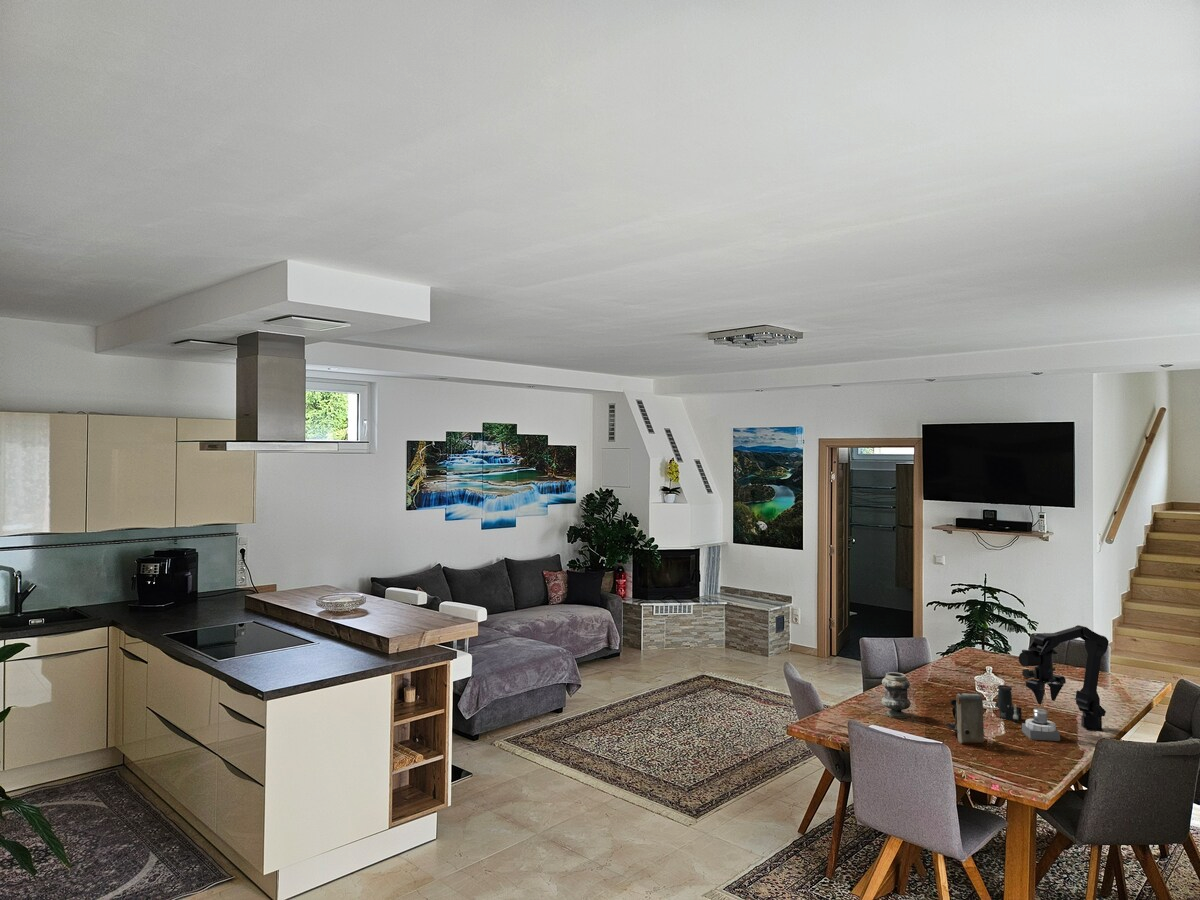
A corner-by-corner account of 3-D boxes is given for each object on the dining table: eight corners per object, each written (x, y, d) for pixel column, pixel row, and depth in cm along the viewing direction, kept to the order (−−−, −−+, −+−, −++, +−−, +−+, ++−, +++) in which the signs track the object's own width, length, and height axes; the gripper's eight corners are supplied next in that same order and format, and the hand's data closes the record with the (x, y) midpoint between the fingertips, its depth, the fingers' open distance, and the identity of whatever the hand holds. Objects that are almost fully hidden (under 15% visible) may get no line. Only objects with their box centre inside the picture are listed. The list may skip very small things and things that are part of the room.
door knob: (1035, 724, 326) (1034, 707, 326) (1048, 727, 323) (1048, 710, 323) (1032, 727, 323) (1032, 710, 323) (1046, 730, 319) (1045, 712, 319)
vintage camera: (966, 733, 328) (963, 684, 329) (985, 744, 312) (983, 693, 314) (943, 733, 327) (941, 685, 329) (961, 745, 312) (959, 694, 313)
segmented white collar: (1050, 732, 327) (1050, 719, 327) (1060, 741, 316) (1060, 727, 317) (1021, 731, 329) (1021, 717, 329) (1030, 739, 318) (1030, 725, 319)
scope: (1016, 691, 339) (991, 686, 346) (1017, 723, 338) (992, 718, 345) (1022, 687, 345) (998, 683, 352) (1023, 719, 344) (998, 714, 351)
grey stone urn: (909, 712, 355) (908, 671, 355) (912, 720, 343) (911, 678, 344) (880, 709, 358) (880, 670, 358) (882, 717, 346) (882, 676, 347)
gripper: (1040, 658, 341) (1041, 694, 340) (1012, 664, 332) (1014, 701, 331) (1065, 663, 331) (1067, 700, 330) (1038, 669, 322) (1039, 708, 322)
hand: (1046, 702), depth 329 cm, fingers open, 9 cm apart
